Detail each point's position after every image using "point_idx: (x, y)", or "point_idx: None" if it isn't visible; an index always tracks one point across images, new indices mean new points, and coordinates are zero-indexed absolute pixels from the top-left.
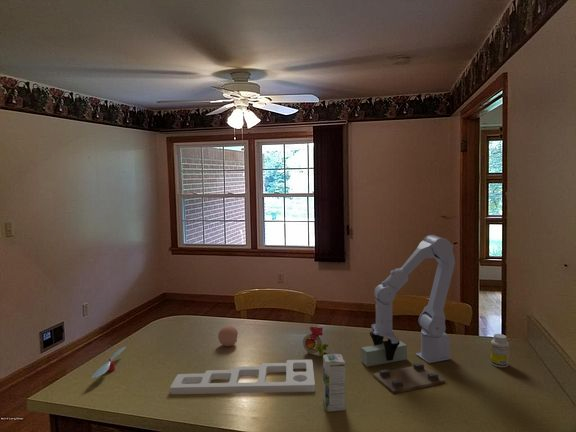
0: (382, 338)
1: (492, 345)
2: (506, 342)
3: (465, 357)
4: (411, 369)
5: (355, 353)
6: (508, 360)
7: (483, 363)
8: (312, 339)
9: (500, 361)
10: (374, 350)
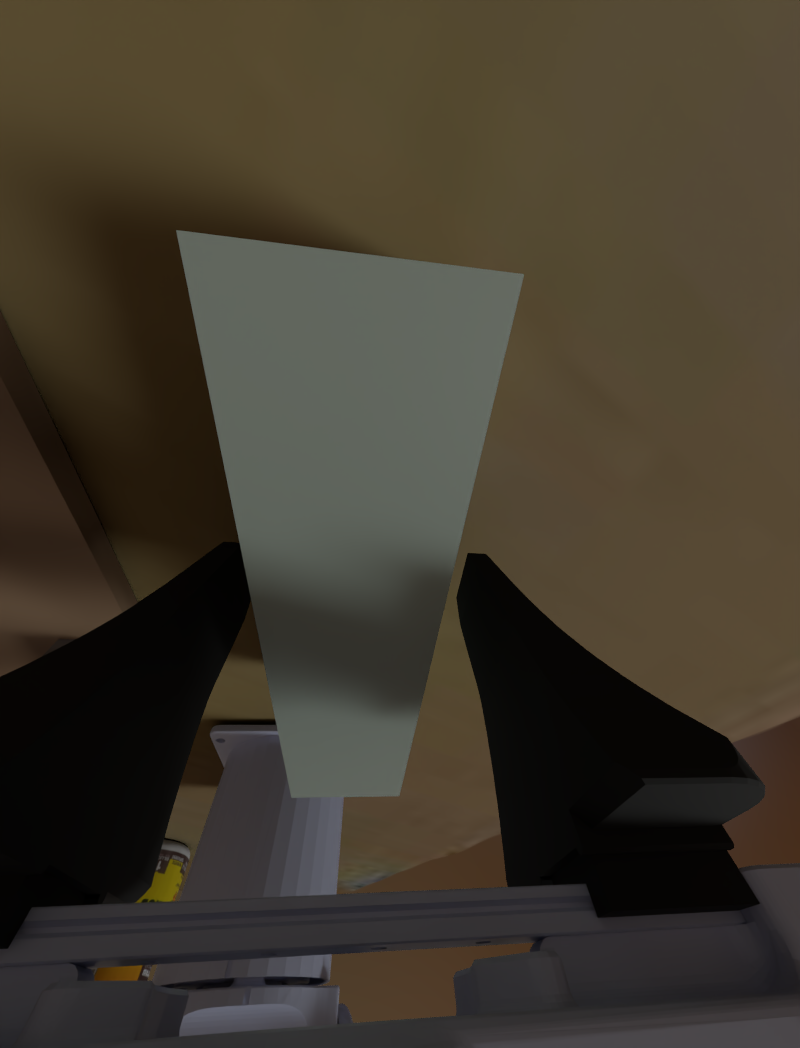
0: (496, 754)
1: (98, 973)
2: None
3: None
4: (78, 621)
5: (681, 369)
6: None
7: (177, 828)
8: None
9: None
10: (232, 479)
